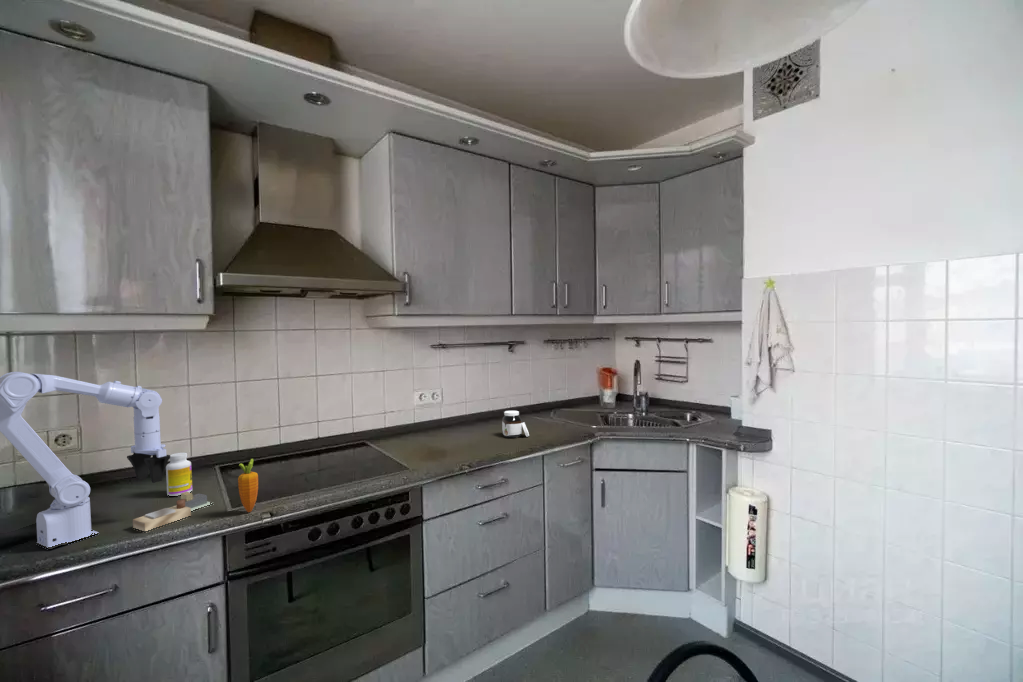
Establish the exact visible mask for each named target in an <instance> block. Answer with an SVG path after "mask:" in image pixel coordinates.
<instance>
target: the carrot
mask: <svg viewBox="0 0 1023 682" xmlns="http://www.w3.org/2000/svg"><path fill="white" fill-rule="evenodd" d="M253 465H254V458H250V461H249V462H248V464H247V465H244V464H243V463H239V465H238V467H240V469H242V471H243V472H242V473H241V474H240V475H239V476H238V478H237V484H238V493H239V497H240V501H241V504H242V506H243V508H244V509H245V511H246V512H247V513H249V512H250V513H251V512H252V511H253V509H254V507H255V505H256V502H257V497H258V492H259V475H258V473H257V472H255V471H251V470H253V469H252V468H253V467H254V466H253Z"/></svg>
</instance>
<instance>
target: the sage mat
mask: <svg viewBox="0 0 1023 682" xmlns="http://www.w3.org/2000/svg"><path fill="white" fill-rule="evenodd" d="M210 502H211V501H208V500H207V503H206V504H203V505H200V506H197V507H194V508H191V511H193V510H195V509H198V508H201V507H204V506H207V505H210ZM212 503H213V502H212ZM212 503H211V504H212ZM210 506H211V505H210ZM207 507H208V506H207ZM204 508H205V507H204ZM193 512H194V511H193Z"/></svg>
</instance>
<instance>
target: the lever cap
mask: <svg viewBox="0 0 1023 682" xmlns="http://www.w3.org/2000/svg"><path fill="white" fill-rule="evenodd" d="M180 499H185V507H189V508H194V507H197V506H200V505H203V504H206V503H207V501H208V495H207V494H204V493H203V494H202V493H196V494H193V492H191V493H190V492H184V493H181V496H180Z"/></svg>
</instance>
